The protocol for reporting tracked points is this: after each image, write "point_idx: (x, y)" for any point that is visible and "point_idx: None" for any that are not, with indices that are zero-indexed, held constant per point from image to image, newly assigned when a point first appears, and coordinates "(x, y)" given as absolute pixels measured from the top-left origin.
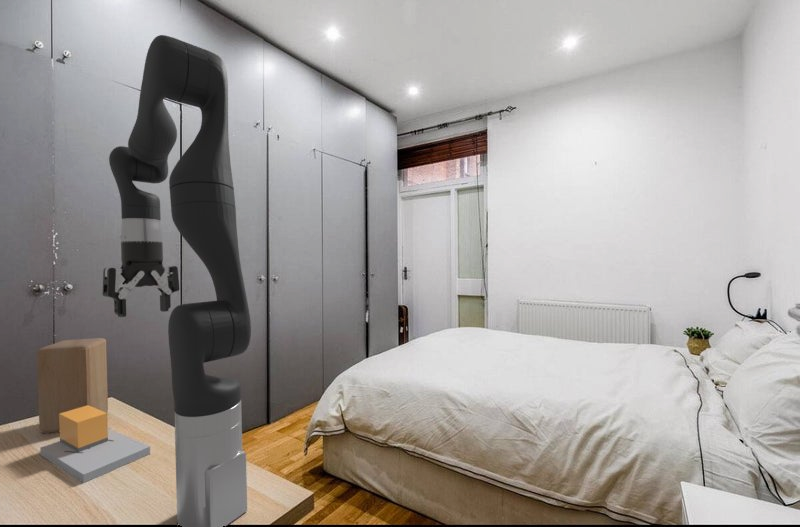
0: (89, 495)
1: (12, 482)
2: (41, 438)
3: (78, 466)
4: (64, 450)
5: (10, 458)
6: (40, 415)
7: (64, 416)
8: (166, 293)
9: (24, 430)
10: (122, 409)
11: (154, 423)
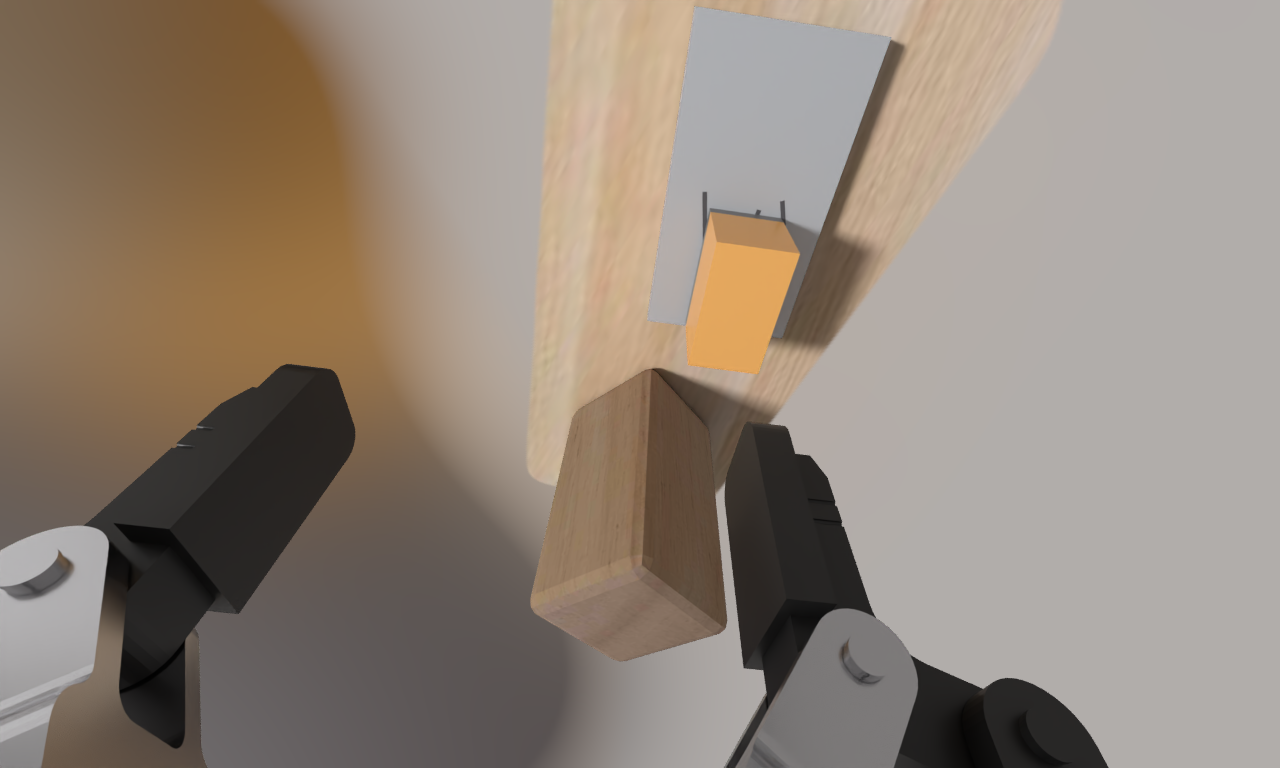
0: None
1: (892, 246)
2: (719, 408)
3: (849, 118)
4: None
5: (803, 369)
6: (711, 458)
7: (768, 341)
8: (108, 558)
9: None
10: (543, 401)
11: (551, 231)
